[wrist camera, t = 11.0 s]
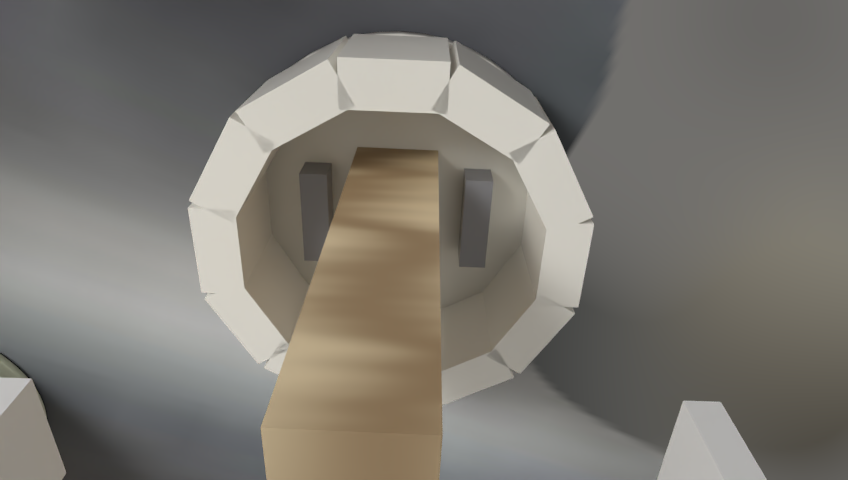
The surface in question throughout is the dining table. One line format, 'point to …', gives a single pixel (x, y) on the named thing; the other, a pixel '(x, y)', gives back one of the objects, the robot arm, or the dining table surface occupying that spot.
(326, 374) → the wooden block
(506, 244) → the white thick ring
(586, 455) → the dining table surface
